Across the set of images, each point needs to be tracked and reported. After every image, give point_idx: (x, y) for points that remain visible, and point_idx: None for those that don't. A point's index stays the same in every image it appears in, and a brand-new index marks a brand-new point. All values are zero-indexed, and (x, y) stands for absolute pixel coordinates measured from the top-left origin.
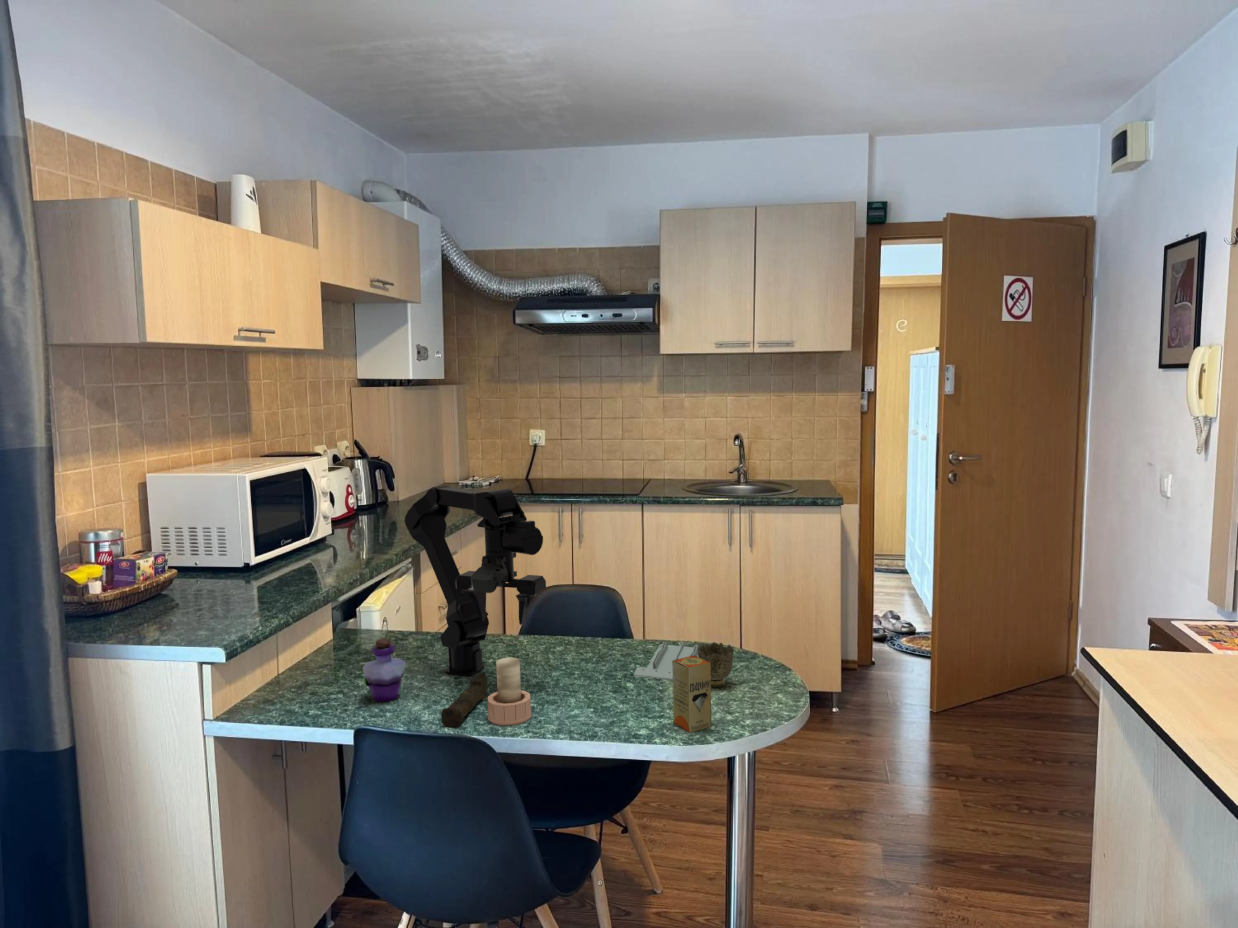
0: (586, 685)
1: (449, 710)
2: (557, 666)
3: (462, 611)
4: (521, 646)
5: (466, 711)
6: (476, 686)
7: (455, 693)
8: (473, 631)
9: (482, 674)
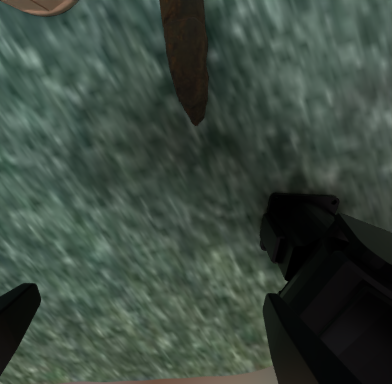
0: (3, 204)
1: None
2: (120, 276)
3: None
4: (233, 339)
5: None
6: (169, 2)
7: (264, 79)
8: (306, 273)
9: (187, 91)
